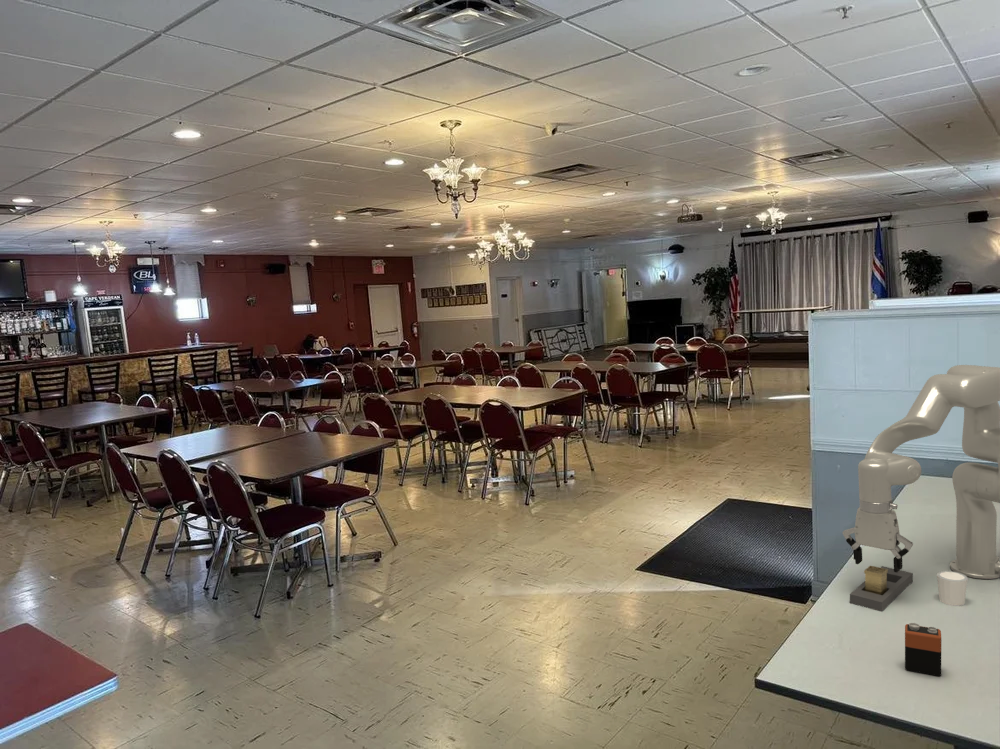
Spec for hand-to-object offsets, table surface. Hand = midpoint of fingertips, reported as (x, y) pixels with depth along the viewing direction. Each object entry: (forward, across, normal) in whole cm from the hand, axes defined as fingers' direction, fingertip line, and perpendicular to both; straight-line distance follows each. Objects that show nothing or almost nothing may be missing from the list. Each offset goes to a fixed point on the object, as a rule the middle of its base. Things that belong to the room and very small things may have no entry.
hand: (877, 566), depth 188 cm
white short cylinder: (+10, -15, -9) cm, 20 cm away
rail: (+9, 0, -4) cm, 10 cm away
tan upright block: (+9, 0, +1) cm, 9 cm away
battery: (+8, -20, +31) cm, 38 cm away
